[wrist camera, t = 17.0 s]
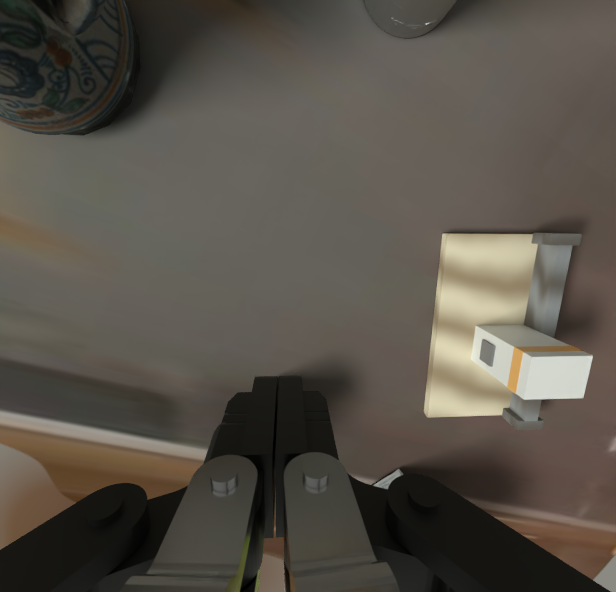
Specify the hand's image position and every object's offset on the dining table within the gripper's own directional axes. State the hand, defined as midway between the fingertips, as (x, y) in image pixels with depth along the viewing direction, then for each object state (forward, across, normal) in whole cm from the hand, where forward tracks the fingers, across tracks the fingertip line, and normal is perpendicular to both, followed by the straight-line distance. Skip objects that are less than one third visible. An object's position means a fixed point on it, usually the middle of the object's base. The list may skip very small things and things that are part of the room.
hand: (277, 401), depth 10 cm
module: (+26, -26, +9) cm, 37 cm away
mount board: (+27, -25, +7) cm, 37 cm away
